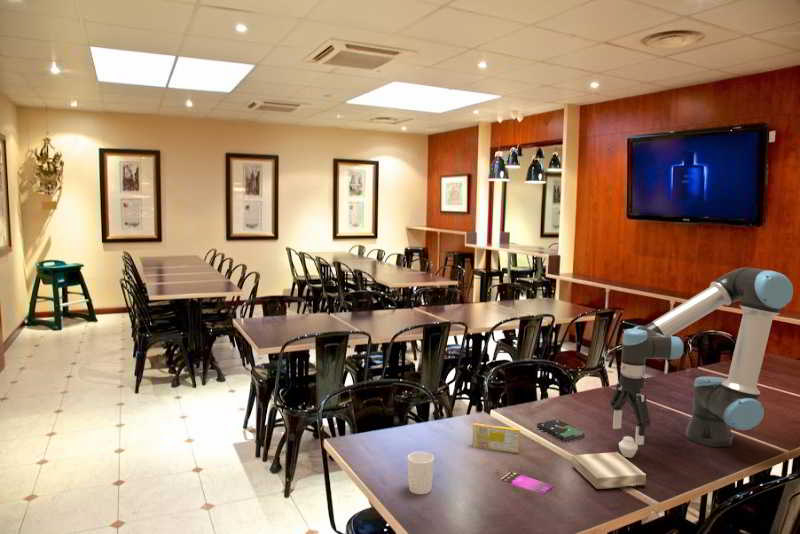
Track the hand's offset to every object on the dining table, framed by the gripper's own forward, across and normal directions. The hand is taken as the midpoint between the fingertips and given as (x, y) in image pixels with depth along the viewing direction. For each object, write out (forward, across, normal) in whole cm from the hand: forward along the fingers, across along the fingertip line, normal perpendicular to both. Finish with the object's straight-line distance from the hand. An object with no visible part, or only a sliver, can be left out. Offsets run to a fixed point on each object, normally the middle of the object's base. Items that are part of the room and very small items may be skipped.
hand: (627, 436), depth 195 cm
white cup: (+9, +12, -74) cm, 76 cm away
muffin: (+7, 0, 0) cm, 7 cm away
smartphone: (+8, +13, -41) cm, 44 cm away
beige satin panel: (+7, +13, -14) cm, 21 cm away
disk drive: (+8, -22, -14) cm, 27 cm away
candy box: (+8, -12, -42) cm, 45 cm away
